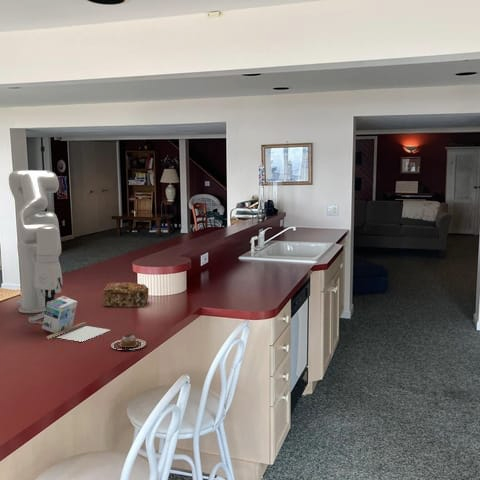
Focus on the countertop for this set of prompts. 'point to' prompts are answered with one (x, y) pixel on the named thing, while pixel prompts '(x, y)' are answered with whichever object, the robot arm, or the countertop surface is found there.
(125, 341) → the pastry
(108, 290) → the bread
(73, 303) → the light bulb box
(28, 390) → the countertop surface
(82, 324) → the maple strip
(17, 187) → the robot arm
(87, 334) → the white flat sheet
